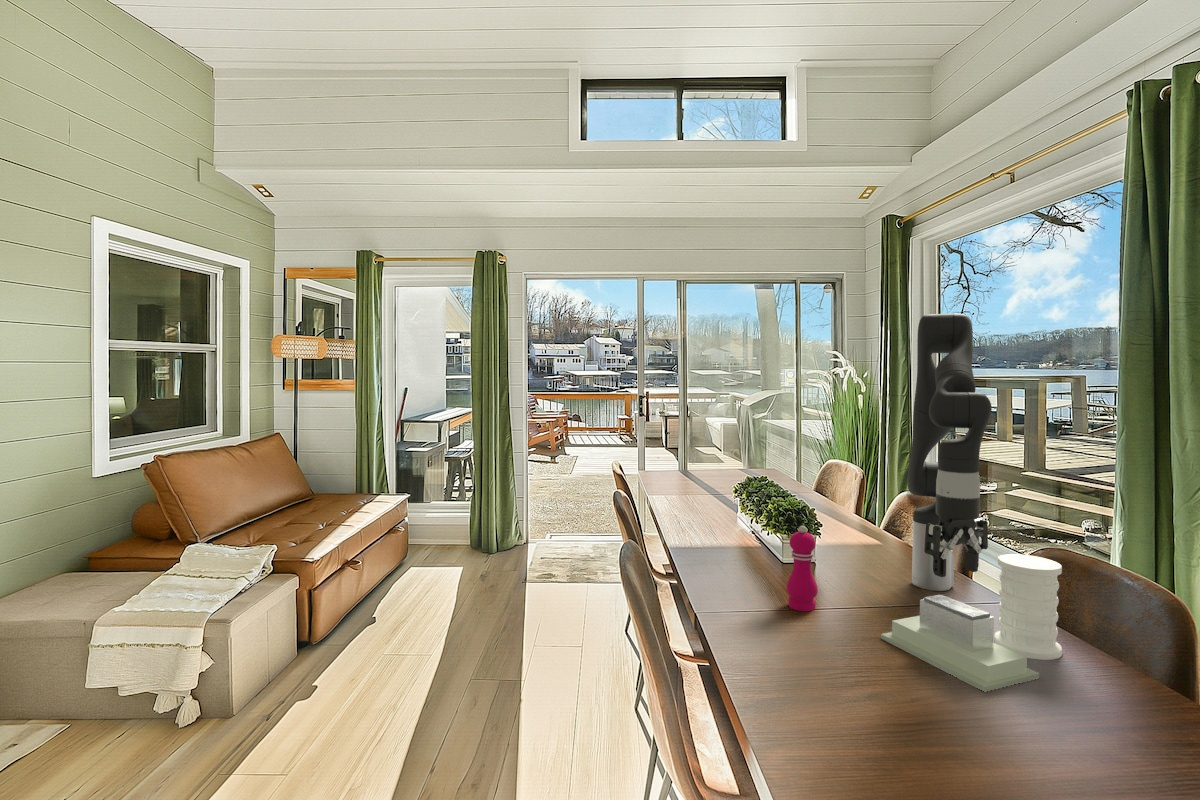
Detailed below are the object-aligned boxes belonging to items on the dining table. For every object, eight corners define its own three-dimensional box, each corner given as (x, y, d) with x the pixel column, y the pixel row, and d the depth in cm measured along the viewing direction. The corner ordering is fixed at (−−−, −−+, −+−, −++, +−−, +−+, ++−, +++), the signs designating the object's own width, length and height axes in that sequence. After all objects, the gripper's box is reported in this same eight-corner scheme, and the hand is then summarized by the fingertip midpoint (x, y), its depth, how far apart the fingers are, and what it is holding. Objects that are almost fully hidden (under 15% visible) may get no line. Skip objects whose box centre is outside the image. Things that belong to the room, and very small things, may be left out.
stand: (930, 628, 137) (930, 611, 137) (1039, 678, 115) (1039, 657, 115) (880, 638, 132) (881, 620, 132) (984, 692, 110) (985, 670, 110)
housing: (993, 647, 119) (993, 614, 119) (972, 652, 117) (973, 618, 117) (939, 624, 130) (939, 593, 130) (919, 628, 128) (920, 596, 128)
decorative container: (1050, 639, 132) (1052, 556, 131) (1071, 663, 121) (1073, 572, 120) (987, 632, 135) (989, 551, 135) (1002, 655, 124) (1004, 567, 124)
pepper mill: (819, 613, 147) (820, 530, 146) (787, 611, 148) (788, 528, 147) (815, 602, 154) (816, 522, 153) (785, 600, 155) (785, 521, 154)
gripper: (947, 499, 116) (945, 584, 117) (1001, 493, 121) (999, 574, 122) (914, 492, 123) (913, 572, 124) (966, 486, 128) (965, 563, 129)
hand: (955, 573), depth 123 cm, fingers open, 8 cm apart
